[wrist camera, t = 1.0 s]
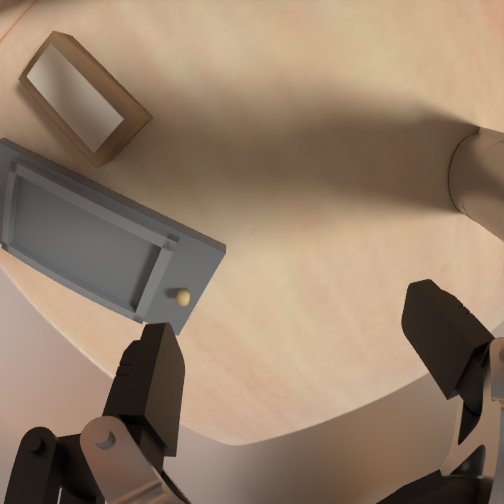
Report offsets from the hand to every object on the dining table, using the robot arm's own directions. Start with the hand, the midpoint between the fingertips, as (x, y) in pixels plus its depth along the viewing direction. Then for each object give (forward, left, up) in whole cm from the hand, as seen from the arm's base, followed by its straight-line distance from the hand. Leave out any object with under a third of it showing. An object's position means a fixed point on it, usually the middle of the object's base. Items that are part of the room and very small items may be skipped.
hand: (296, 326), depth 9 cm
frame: (-1, -17, -17) cm, 24 cm away
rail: (+11, -13, -16) cm, 24 cm away
